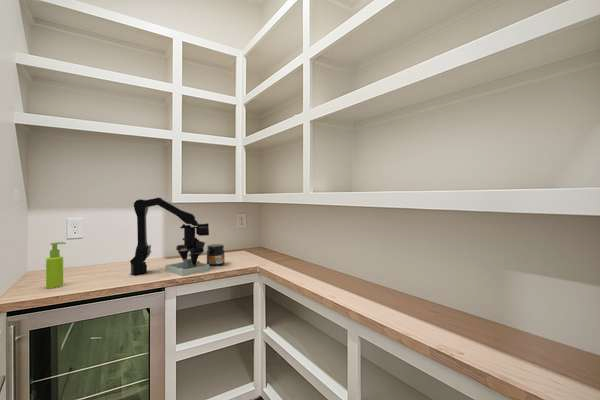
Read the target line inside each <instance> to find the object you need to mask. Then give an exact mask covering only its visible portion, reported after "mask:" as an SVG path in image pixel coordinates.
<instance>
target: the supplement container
mask: <svg viewBox="0 0 600 400" xmlns="http://www.w3.org/2000/svg"><path fill="white" fill-rule="evenodd" d="M224 248H225V246H224V244H221V243H219V244H218V243H215V244H208V245H207V248H206V249H207V250H206V264H209V267H222V266H224V265H225V264H226V262H225V249H224Z"/></svg>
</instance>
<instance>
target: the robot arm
mask: <svg viewBox="0 0 600 400" xmlns="http://www.w3.org/2000/svg"><path fill="white" fill-rule="evenodd" d="M154 206H159V207H161V208H163V209H164V210H166V211H167V212H169V213H171V214H173V215H174V216H176V217H178V218H179V219H180V220H181V221H182V222H183V224H182V225H181V226H180V229H183V238H182V240H183V244H177V245H176V247H175V248H176V249H175V250H176V251H177V252H178V254H179V256H180V257H181V259H182V261H183V259H188V254H189V256H190V258H191V260H192V263H193V266H194V265H196V262H197V261H198V259H199V256H200V255H201V254H203V253H204V248H205V245H206V242H205V241H200V239H198V238H197V237H196V235H198V236H199V237H203V236H204V237H205V236H209V235H210V229H209V223H208V222H207V223H199V222H198V220H197V219H196V216H195V215H194V214H193V213H191V212H188V211H185V210H182V209H180V207H179V208H178V207H177V206H175V205H173V204H172V203H170V202H168V201H166V200H165V199H163V198H162V197H156V198H155V197H154V198H150V199H137V200H135V201H134V202H133V210H134V213H135V214H136V219H137V222H136V223H137V225H136V226H137V229H136V230H137V245H136V248H135V254H134V257H133V258H132V259H130V260H129V262H130V273H129V275H131V276H134V277H136V276H141V275H147V274H148V269H147V268H148V265H147V262H146V259H147V258H148V257H150V255H151V254H152V251H151V249H152V245H151V244H150V245H149V244H148V242H147V241H148V238H147V235H148V234H147V233H148V231H147V216H148V215H147V214H148V212H149V207H150V208H151V207H154ZM189 252H190V253H189Z"/></svg>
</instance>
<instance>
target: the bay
mask: <svg viewBox="0 0 600 400" xmlns="http://www.w3.org/2000/svg"><path fill="white" fill-rule="evenodd" d="M164 267H165V269H164V271H165V272H168V273H171V274H173V275H178V276H180V277H185V276H191V275H195V274H199V273H204V272H208V271H210V266H209V264H207V263H204V262H200V263H199V264H196V267H195V268H190V269H185V270H183V261H181V262H175V263H170V264H166V265H165V266H164Z"/></svg>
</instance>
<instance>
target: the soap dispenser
mask: <svg viewBox="0 0 600 400" xmlns="http://www.w3.org/2000/svg"><path fill="white" fill-rule="evenodd" d="M66 244H67V243H66V242H61V241H59V242H51V243H50V246H51V247H52V248H51V250H49V257H47V258H45V278H46V279H45V287H46V289H55V288H54V287H57V288H60V287H59V286H61V287H63V286H64V257H63V256H60V254H61V253H60V249H58V245H66ZM62 285H63V286H62Z"/></svg>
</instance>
